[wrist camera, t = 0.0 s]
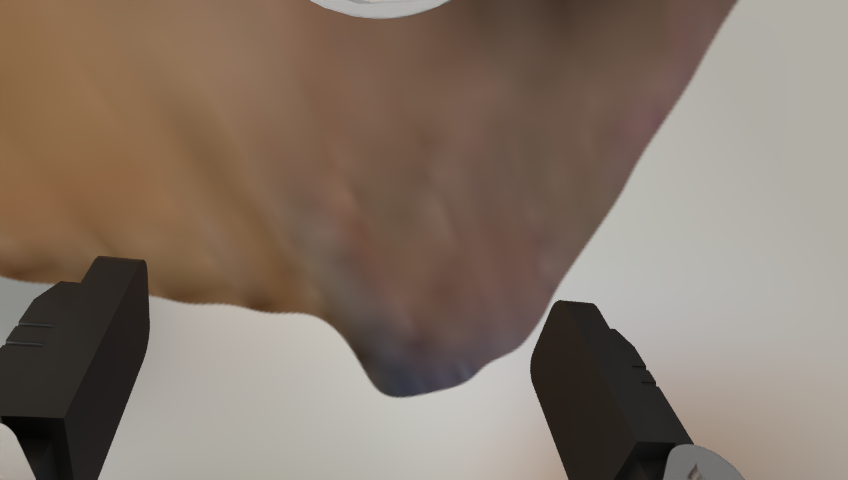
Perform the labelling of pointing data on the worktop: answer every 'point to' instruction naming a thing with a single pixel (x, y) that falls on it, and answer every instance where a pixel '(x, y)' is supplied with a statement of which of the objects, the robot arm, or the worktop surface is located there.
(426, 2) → the disposable coffee cup
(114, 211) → the worktop surface
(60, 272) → the worktop surface
